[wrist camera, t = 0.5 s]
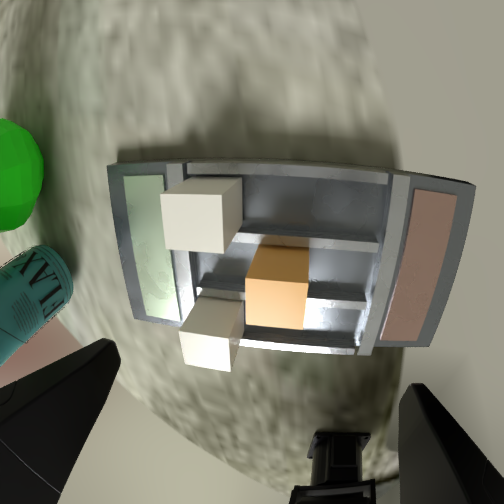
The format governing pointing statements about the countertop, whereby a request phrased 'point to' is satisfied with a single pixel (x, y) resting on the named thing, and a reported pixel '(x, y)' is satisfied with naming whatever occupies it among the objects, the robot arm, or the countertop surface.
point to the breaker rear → (213, 332)
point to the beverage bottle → (30, 295)
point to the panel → (304, 235)
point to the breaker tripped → (277, 286)
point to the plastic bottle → (18, 175)
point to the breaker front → (202, 214)
